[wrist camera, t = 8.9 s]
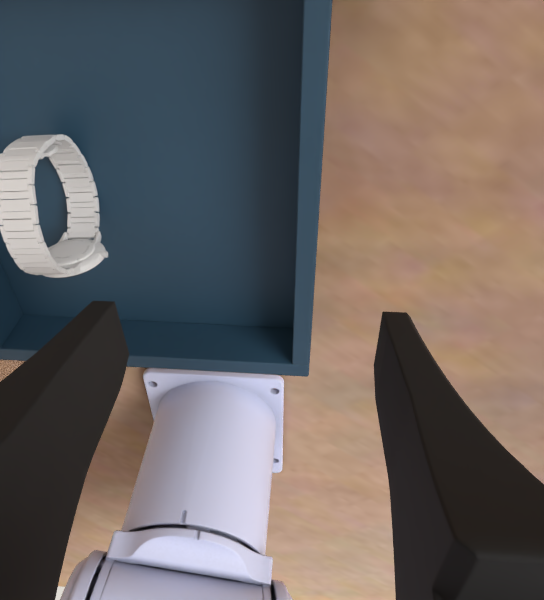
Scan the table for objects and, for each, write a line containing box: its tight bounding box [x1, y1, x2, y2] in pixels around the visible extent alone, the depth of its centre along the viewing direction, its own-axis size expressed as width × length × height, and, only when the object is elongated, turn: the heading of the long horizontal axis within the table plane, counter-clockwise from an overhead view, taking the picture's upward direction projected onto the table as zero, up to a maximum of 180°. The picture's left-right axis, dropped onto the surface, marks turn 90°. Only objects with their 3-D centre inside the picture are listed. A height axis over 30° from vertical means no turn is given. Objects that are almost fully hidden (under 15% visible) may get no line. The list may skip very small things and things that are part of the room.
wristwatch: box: [0, 134, 108, 278], centre depth 19 cm, size 3×5×5 cm, turn 5°
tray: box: [0, 0, 332, 376], centre depth 20 cm, size 18×16×3 cm
